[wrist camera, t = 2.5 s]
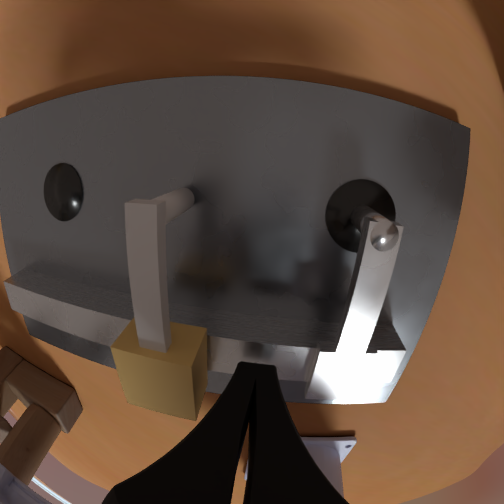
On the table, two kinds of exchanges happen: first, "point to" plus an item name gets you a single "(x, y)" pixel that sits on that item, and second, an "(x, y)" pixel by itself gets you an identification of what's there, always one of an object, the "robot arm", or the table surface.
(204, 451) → the robot arm
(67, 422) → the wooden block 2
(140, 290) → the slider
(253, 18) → the table surface
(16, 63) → the table surface
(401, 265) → the hole plate
